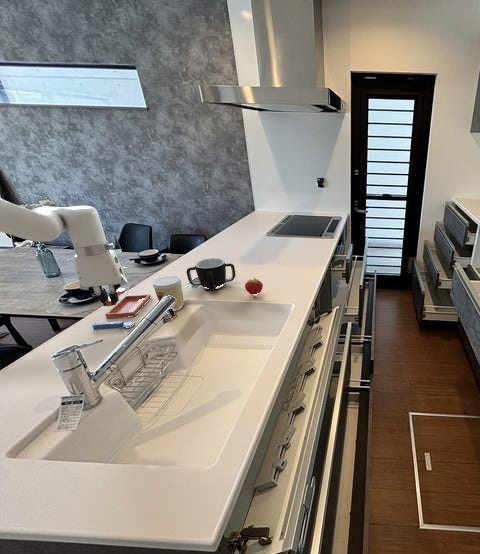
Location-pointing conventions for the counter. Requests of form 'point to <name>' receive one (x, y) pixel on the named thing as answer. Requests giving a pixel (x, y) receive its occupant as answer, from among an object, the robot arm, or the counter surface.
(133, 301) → the red tray
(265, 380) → the counter surface
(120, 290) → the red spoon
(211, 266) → the mug
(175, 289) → the coffee cup
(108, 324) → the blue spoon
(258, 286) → the strawberry
